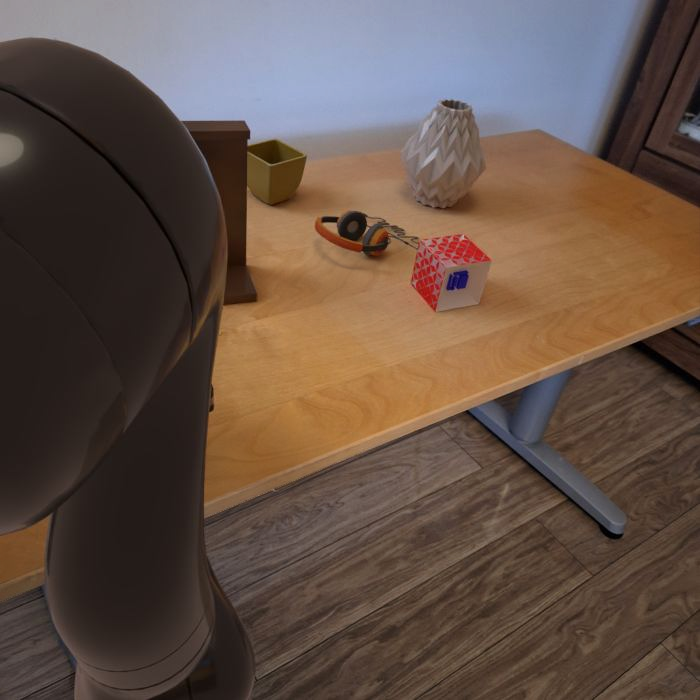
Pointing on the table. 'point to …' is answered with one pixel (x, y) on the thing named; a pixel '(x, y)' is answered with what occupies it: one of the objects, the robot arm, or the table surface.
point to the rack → (229, 195)
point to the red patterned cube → (450, 272)
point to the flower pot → (274, 170)
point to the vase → (444, 155)
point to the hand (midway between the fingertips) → (127, 340)
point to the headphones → (358, 233)
